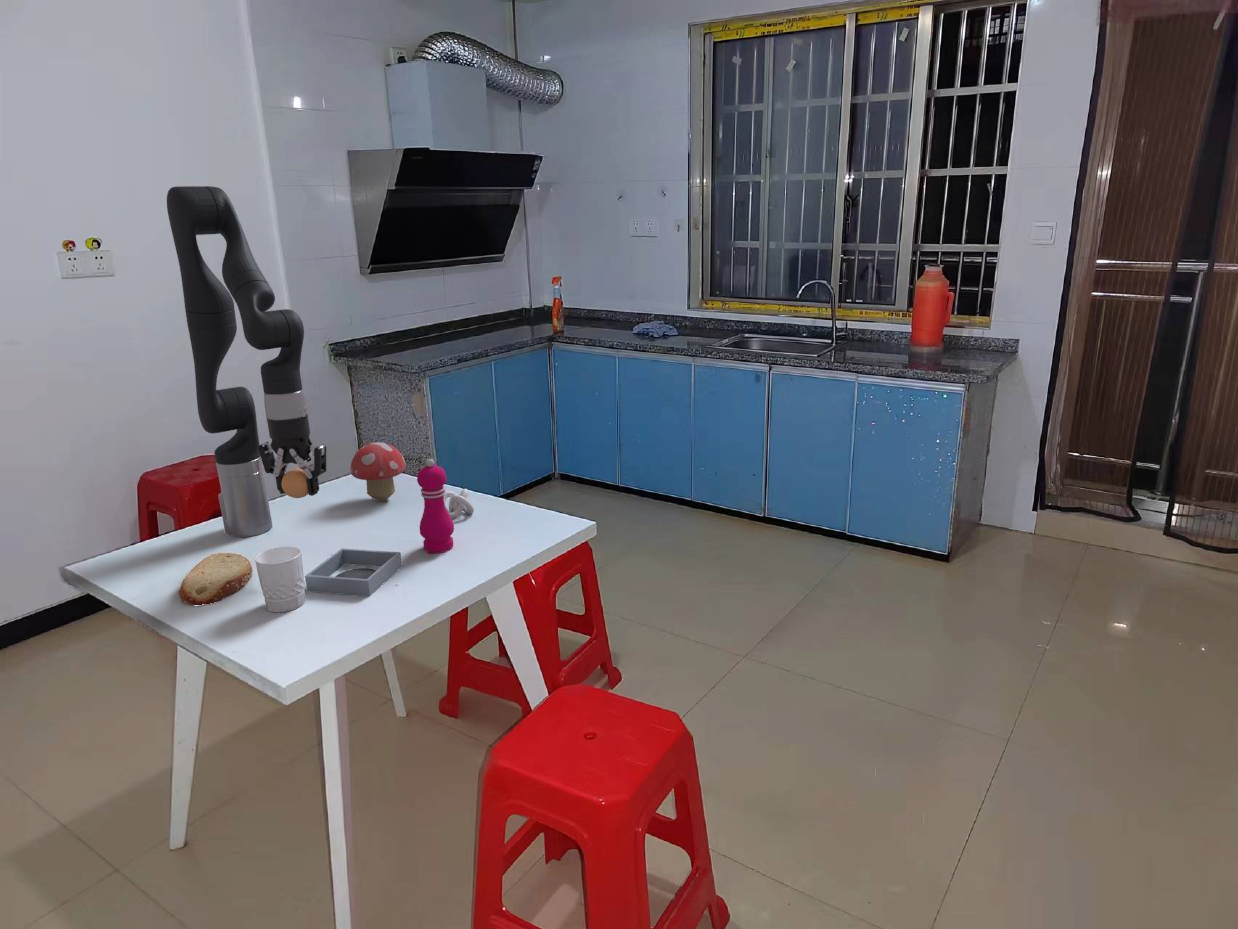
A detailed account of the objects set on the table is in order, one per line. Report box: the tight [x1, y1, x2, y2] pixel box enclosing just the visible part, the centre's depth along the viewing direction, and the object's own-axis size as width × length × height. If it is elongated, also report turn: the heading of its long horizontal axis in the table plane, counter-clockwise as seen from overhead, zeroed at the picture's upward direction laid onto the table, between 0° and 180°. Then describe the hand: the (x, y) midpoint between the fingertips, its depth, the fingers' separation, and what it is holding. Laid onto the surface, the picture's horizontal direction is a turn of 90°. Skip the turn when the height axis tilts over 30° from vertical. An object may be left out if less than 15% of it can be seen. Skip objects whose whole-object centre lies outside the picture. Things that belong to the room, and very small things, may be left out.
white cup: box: [254, 545, 306, 613], centre depth 145 cm, size 8×8×10 cm
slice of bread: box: [178, 552, 253, 606], centre depth 156 cm, size 18×18×4 cm
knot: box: [444, 488, 474, 520], centre depth 188 cm, size 8×8×6 cm
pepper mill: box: [416, 458, 455, 554], centre depth 167 cm, size 7×7×20 cm
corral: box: [304, 547, 403, 597], centre depth 156 cm, size 13×13×3 cm
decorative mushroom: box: [350, 442, 407, 502], centre depth 197 cm, size 13×13×15 cm
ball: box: [281, 468, 309, 499], centre depth 159 cm, size 6×6×6 cm
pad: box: [334, 567, 378, 579], centre depth 156 cm, size 9×9×1 cm
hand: (299, 493), depth 160 cm, fingers closed on ball, 6 cm apart
